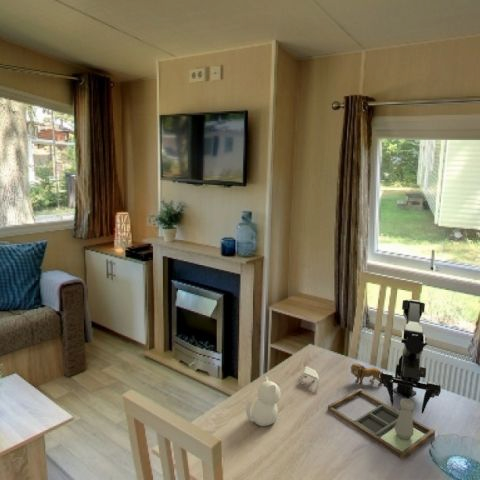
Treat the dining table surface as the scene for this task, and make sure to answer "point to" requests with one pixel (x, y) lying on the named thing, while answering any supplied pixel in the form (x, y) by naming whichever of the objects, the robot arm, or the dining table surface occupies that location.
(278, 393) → the cat figurine
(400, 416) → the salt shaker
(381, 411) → the trap pits
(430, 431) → the wooden frame
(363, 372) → the lion figurine
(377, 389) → the dining table surface
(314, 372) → the origami figure
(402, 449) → the pad
